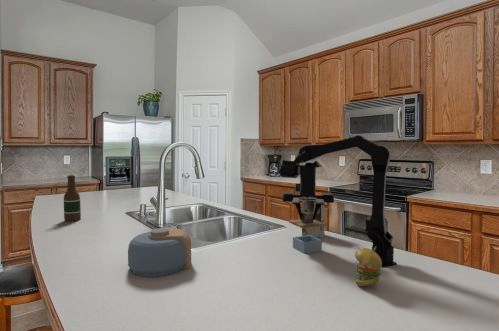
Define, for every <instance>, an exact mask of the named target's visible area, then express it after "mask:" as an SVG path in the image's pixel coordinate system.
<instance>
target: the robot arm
mask: <svg viewBox="0 0 499 331" xmlns="http://www.w3.org/2000/svg"><path fill="white" fill-rule="evenodd" d="M354 148H358V149H359V150H361V151H362V152H364V153H365V154H367V155H368V156H370V160H371V167H372V170H373V180H372V182H373V183H372V184H373V185H372V200H371V201H372V202H371V203H372V204H371V205H372V206H371V215H370V216H367V217H366V218H365V229H364V232H366V236H367V238H368V239H369V240H370V241H371V243H372V246H371V250H373V251H374V248H375V247H376V248H375V251H374V252H376V253H377V254H378V255H379V257H380V258H381V260H382V266H381V268H385V267H390V266H394V265H397V262H396V261H394V255H395V254H394V250H395V249H394V246H393V244H392V243H393V240H394V236H393V235H392V234H391V233H390V232H389V231H388V229H387V228H388V227H387V221H386V215H385V205H386V204H385V201H386V183H387V171H388V167H389V165H390V160H391V156H392V152H391V150H390V148H389V147H387V146H385V145H378V144H376V143H374V142H372V141H370V140H369V139H367V138H366V137H364V136H363V135H355V136H352V137H347V138H344V139H339V140H336V141H332V142H328V143H325V144H309V145H303V146H301V147H300V149H299V151H298V154H297V156H296V157H295V158H294V160H288V159H284V160H282V164H281V166H280V169H279V173H280V174H279V175H280V177H281V178H284V179H285V178H287V179H288V178H289V179H297V178H298V176H299V179H300V180H299V183H295V185H294V186H295V187H294V189H295V190H294V191H295V192H296V193H299V194H294V192H288V191H287V192H285V191H284V192H282V202H284V203H285V202H287V203H291V204H292V205H294V206H295V207H296V209H297V213H298V216H299V217H298V218H299V219H300V220H302V215H301V213H302V205H301V201H302V200H316V201H314V210H313V220H314V219H315V217H316V214H317V212H318V210H319V208H320V206H321V205H324V203H323V201H324V202H325V204H326V203H329V204H331V203H332V204H333V203H335V197H334V195H333V194H332V193H330V192H321V195H320V194H316V183H317V182H316V181H317V180H316V177H317V175H316V174H317V168H321V167H323V166H322V164H321V163H319V161H318V160H317V159H319V158H321V157H325V156H326V155H329V154H332V153H337V152H342V151H347V150H349V149H350V150H351V149H354ZM314 160H315V161H314ZM310 161H311V162H310ZM312 161H313V162H312Z"/></svg>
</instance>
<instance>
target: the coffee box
mask: <svg viewBox="0 0 499 331" xmlns="http://www.w3.org/2000/svg"><path fill="white" fill-rule="evenodd" d="M314 201H316V200H301V213H302V212H310V213H313V210H314ZM323 203H324V205H321V206H320V208H319V210H318V212H317V214H316V217H315V219H314V220H317V221H319V222H322V223H325V222H326V221H325V214H326V213H325V209H326V208H325V205H326V203H325V202H324V201H323ZM325 224H326V223H325ZM325 227H326V226H323V227H314V228H305V229H302V228H301V236H306V235H311V236H313V237H316V238H318V239H321V238H323V237H324V236H325Z"/></svg>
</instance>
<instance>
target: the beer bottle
mask: <svg viewBox="0 0 499 331" xmlns="http://www.w3.org/2000/svg"><path fill="white" fill-rule="evenodd" d="M66 178H67V187H66V188H67V189H66V191H65V193H64V195H63V219H64V221H65V222H69V223H71V222H72V221H73V222H78V221H81V219H82V218H81V217H82V215H81V214H82V213H81V209H82V208H81V195H80V194H79V192H78V191H77V186H76V176H75V175H73V174H71V175H67V177H66ZM73 222H72V223H73Z"/></svg>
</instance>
